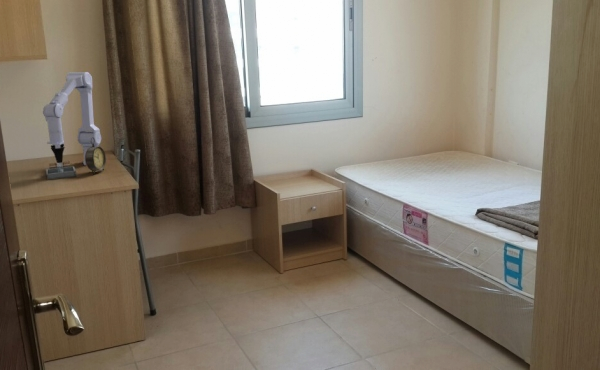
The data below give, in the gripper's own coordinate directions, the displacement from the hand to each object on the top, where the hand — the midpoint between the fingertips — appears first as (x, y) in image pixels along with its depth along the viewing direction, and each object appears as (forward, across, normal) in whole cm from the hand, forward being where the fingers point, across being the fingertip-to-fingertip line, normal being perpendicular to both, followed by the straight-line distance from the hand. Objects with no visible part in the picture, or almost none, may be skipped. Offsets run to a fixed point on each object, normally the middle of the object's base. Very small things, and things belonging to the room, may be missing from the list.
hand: (59, 161), depth 281 cm
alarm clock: (+7, +2, +15) cm, 16 cm away
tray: (+6, 0, 0) cm, 6 cm away
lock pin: (+6, 0, 0) cm, 6 cm away
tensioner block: (+6, -12, 0) cm, 13 cm away
